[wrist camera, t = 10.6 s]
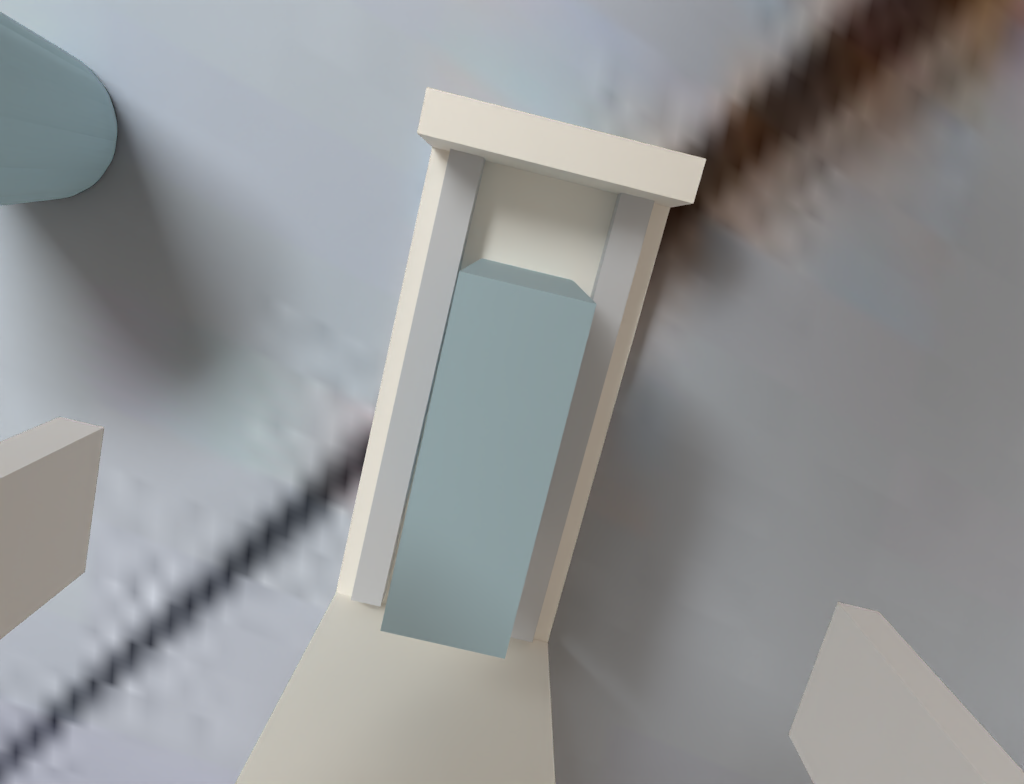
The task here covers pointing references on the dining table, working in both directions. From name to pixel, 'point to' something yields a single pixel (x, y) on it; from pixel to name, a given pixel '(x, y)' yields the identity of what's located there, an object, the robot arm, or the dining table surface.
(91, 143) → the cup
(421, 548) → the door panel
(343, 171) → the dining table surface
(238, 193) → the dining table surface
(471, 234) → the track board
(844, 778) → the robot arm
